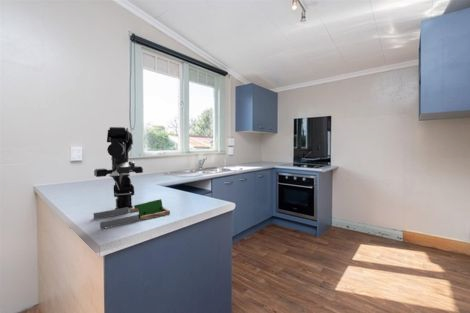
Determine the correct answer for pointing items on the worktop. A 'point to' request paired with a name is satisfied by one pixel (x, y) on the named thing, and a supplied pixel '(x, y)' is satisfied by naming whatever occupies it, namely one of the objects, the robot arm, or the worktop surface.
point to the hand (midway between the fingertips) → (120, 190)
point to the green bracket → (149, 207)
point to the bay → (165, 212)
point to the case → (115, 221)
